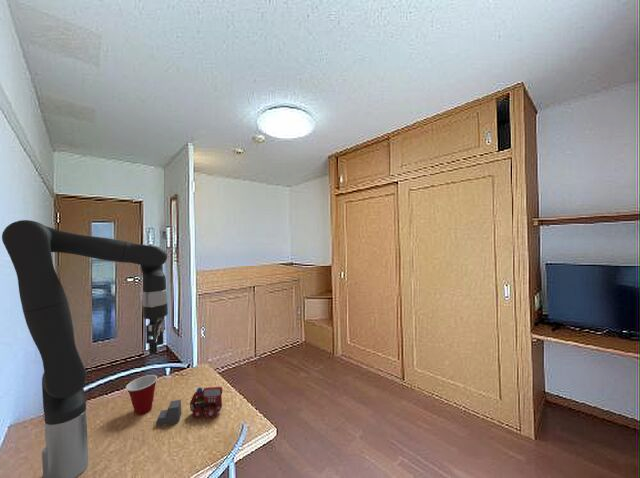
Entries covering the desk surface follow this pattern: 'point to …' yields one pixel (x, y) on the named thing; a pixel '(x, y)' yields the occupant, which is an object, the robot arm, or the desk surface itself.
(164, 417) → the grey stepped block
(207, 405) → the toy fire truck
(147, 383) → the plastic cup
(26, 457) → the desk surface
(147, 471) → the desk surface
